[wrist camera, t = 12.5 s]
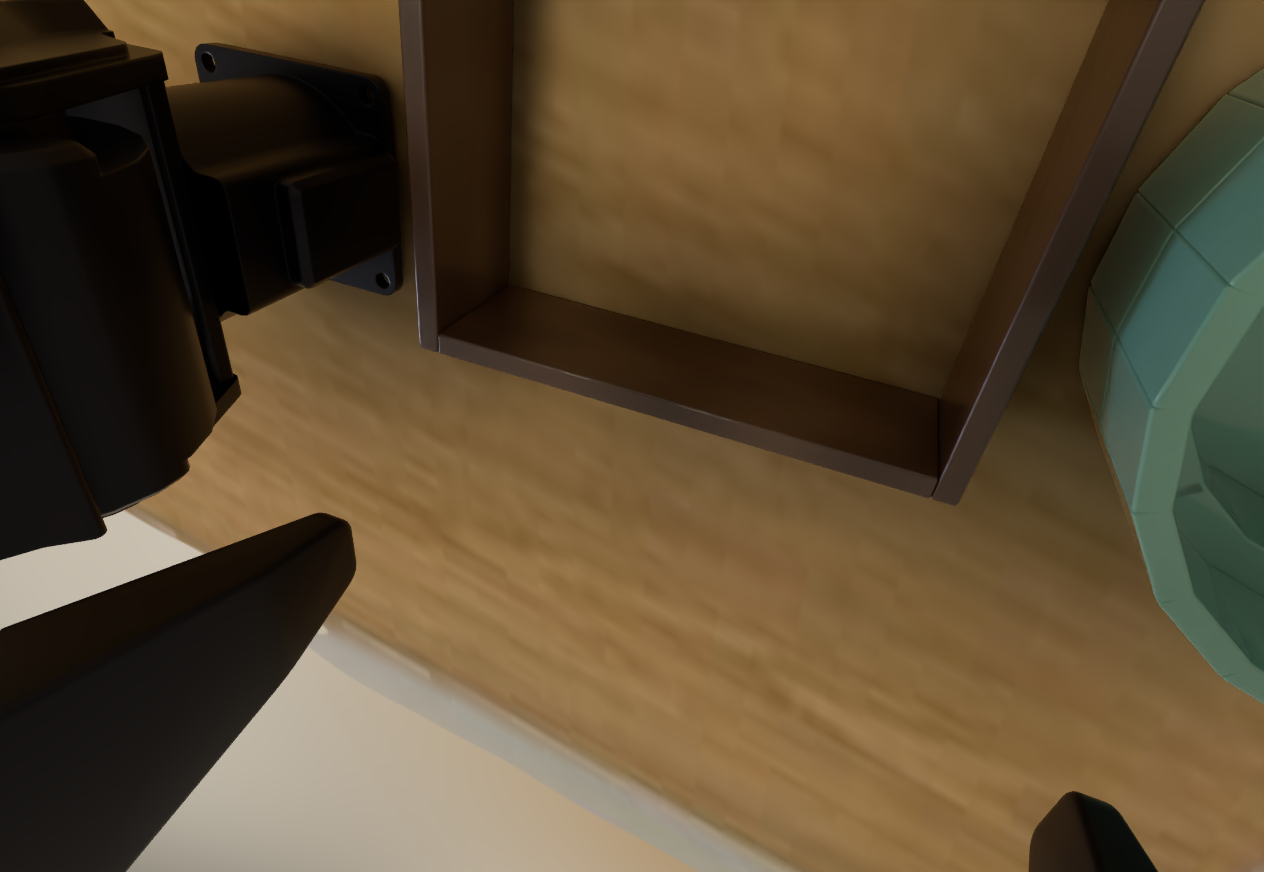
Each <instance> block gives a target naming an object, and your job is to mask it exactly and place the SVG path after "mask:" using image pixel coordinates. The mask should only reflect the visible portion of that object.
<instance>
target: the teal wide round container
mask: <svg viewBox="0 0 1264 872" xmlns="http://www.w3.org/2000/svg"><path fill="white" fill-rule="evenodd" d="M1138 192H1139V193H1137V194H1136V195H1135V196H1134V197H1133V199H1132V201H1131V203H1130V205H1129V207H1128V209H1127V211H1126V213H1125V215H1124V217H1123V219H1122V221H1121V223H1120V225H1119V227H1118V229H1117V231H1116V233H1115V235H1114V237H1113V239H1112V241H1111V243H1110V245H1109V246H1108V248H1107V250H1106V252H1105V254H1104V256H1103V258H1102V260H1101V262H1100V264H1099V266H1098V268H1097V270H1096V272H1095V274H1094V276H1093V278H1092V280H1091V286H1090V287H1089V289H1088V296H1087V304H1086V312H1085V320H1084V328H1083V336H1082V344H1081V352H1080V359H1079V368H1080V371H1079V373H1080V377H1081V380H1082V384H1083V387H1084V391H1085V394H1086V397H1087V401H1088V404H1089V408H1090V411H1091V415H1092V418H1093V421H1094V425H1095V428H1096V432H1097V435H1098V438H1099V441H1100V444H1101V447H1102V450H1103V453H1104V455H1105V458H1106V461H1107V464H1108V467H1109V470H1110V473H1111V475H1112V478H1113V481H1114V484H1115V487H1116V490H1117V492H1118V495H1119V498H1120V501H1121V504H1122V506H1123V509H1124V512H1125V515H1126V518H1127V521H1128V524H1129V526H1130V529H1131V532H1132V535H1133V538H1134V541H1135V543H1136V546H1137V549H1138V552H1139V555H1140V558H1141V561H1142V563H1143V566H1144V569H1145V572H1146V575H1147V578H1148V580H1149V583H1150V586H1151V589H1152V592H1153V595H1154V597H1155V599H1156V600H1157V603H1158V605H1159V606H1160V607H1161V608H1162V610H1163V611H1164V612H1165V613H1166V614H1167V615H1168V617H1169V618H1170V619H1171V620H1172V621H1173V623H1174V624H1175V625H1176V626H1177V627H1178V628H1179V630H1180V631H1181V632H1182V633H1183V634H1184V635H1185V637H1186V638H1187V639H1188V640H1189V641H1190V642H1191V644H1192V645H1193V646H1194V647H1195V648H1196V650H1197V651H1198V652H1199V653H1200V654H1201V655H1202V657H1203V658H1204V659H1205V660H1206V661H1207V662H1208V664H1209V665H1210V666H1211V667H1212V668H1213V670H1214V671H1215V672H1216V673H1217V674H1218V675H1219V676H1221V677H1222V678H1223V679H1224V680H1225V681H1227V682H1229V683H1230V684H1232V685H1233V686H1235V687H1237V688H1238V689H1240V690H1242V691H1243V692H1245V693H1247V694H1248V695H1250V696H1252V697H1253V698H1255V699H1257V700H1258V701H1260V702H1261V703H1263V704H1264V68H1263V69H1262V70H1260V71H1259V72H1257V73H1256V74H1254V75H1253V76H1251V77H1250V78H1248V79H1247V80H1245V81H1244V82H1243V83H1241V84H1240V85H1238V86H1237V87H1235V88H1234V89H1232V90H1231V91H1230V93H1229V94H1226V95H1224V96H1223V97H1222V98H1221V100H1220V101H1219V102H1218V103H1217V104H1216V105H1215V106H1214V107H1213V108H1212V109H1211V110H1210V111H1209V113H1208V114H1207V115H1206V116H1205V117H1204V118H1203V119H1202V120H1201V121H1200V122H1199V123H1198V124H1197V126H1196V127H1195V128H1194V129H1193V130H1192V131H1191V132H1190V133H1189V134H1188V135H1187V136H1186V137H1185V139H1184V140H1183V141H1182V142H1181V143H1180V144H1179V145H1178V146H1177V147H1176V148H1175V149H1174V151H1173V152H1172V153H1171V154H1170V155H1169V156H1168V157H1167V158H1166V159H1165V160H1164V161H1163V162H1162V164H1161V165H1160V166H1159V167H1158V168H1157V169H1156V170H1155V171H1154V172H1153V173H1152V174H1151V175H1150V177H1149V178H1148V179H1147V180H1146V181H1145V182H1144V183H1143V184H1142V185H1141V186H1140V187H1139V188H1138Z"/></svg>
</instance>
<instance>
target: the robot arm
mask: <svg viewBox="0 0 1264 872" xmlns="http://www.w3.org/2000/svg"><path fill="white" fill-rule="evenodd" d="M213 59H214V61H215V64H216V66H215V65H214V63H213ZM195 61H196V66H197V71H198V76H199V80H200V83H194V84H186V85H179V86H171V87H165V83H164V81H165V80H168V75H167V70H166V66H165V62H164V57H163V53H162V51H158V50H154V49H149V48H144V47H139V46H134V45H130V44H126V42H124V41H121V40H118V39H115V36H114V32H113V31H111V30H108V29H107V28H106V26H105V25H104V24H103V23H102V22H101V20H100V19H99V18H98V17H97V16H96V14H95V13H94V12H93V11H92V9H91V8H90V7H89V6H88V5H87V3H86V2H85V1H84V0H0V560H2V559H6V558H9V557H13V556H16V555H20V554H23V553H27V552H30V551H33V550H37V549H40V548H44V547H50V546H56V545H62V544H68V543H74V542H81V541H86V540H93V539H97V538H99V537H101V536H103V535H104V534H105V533H106V531H107V528H106V526H105V523H104V521H103V518H104V517H107V516H111V515H114V514H116V513H119V512H121V511H123V510H125V509H127V508H129V507H132V506H134V505H136V504H138V503H139V502H141V501H143V500H145V499H147V498H149V497H152V496H154V495H156V494H158V493H159V492H161V491H162V490H164V489H166V488H167V487H169V486H170V485H172V484H173V483H175V482H177V481H178V480H180V479H181V478H182V477H183V476H184V475H185V474H186V473H187V472H188V471H189V468H190V466H189V462H188V458H189V457H190V456H192V455H193V453H194V452H195V451H196V450H197V449H198V448H199V446H200V445H201V444H202V443H203V442H204V440H205V439H206V438H207V437H208V436H209V435H210V433H211V432H212V429H213V427H214V425H215V424H216V423H217V422H218V421H219V420H220V418H221V417H222V416H223V415H224V414H225V413H226V411H227V410H228V409H229V408H230V407H231V406H232V405H233V403H234V402H235V401H236V400H237V399H238V398H239V396H240V395H241V390H240V385H239V381H238V377H237V375H235V374H233V372H232V368H231V364H230V359H229V355H228V351H227V347H226V342H225V338H224V334H223V330H222V325H221V321H224V320H226V319H228V318H230V317H232V316H234V315H236V314H239V315H249V314H251V313H253V312H255V311H258V310H260V309H262V308H264V307H266V306H268V305H270V304H272V303H274V302H277V301H279V300H281V299H283V298H285V297H287V296H289V295H291V294H293V293H295V292H298V291H300V290H302V289H304V288H307V289H308V288H313V287H315V286H317V285H319V284H321V283H323V282H325V281H327V280H332V281H336V282H339V283H343V284H346V285H350V286H354V287H357V288H361V289H364V290H368V291H371V292H375V293H378V294H382V295H390V294H393V293H394V292H396V291H398V290H400V289H401V287H402V286H403V271H402V257H401V243H400V242H401V232H400V218H399V204H398V190H397V176H396V164H395V160H394V146H393V132H392V118H391V105H390V95H389V91H388V88H387V86H386V84H385V82H384V81H383V80H382V79H381V78H380V77H378V76H375V75H373V74H368V73H363V72H358V71H353V70H348V69H343V68H338V67H333V66H328V65H324V64H319V63H314V62H309V61H304V60H299V59H294V58H289V57H284V56H279V55H274V54H269V53H264V52H259V51H254V50H249V49H244V48H239V47H234V46H229V45H224V44H219V43H207V44H199V45H198V46H197V47H196V50H195ZM368 87H369V88H370V90H371V91H372V93H373V96H374V100H373V102H372V101H371V100H370V99H369V97H368V94H367V89H368ZM383 274H384V275H386V276H387V278H388V280H389V283H388V282H387V281H386V280H385V279H384V275H383ZM355 571H356V557H355V550H354V543H353V537H352V530H351V526H350V525H349V523H348V522H347V521H345V520H343V519H340V518H338V517H335V516H332V515H330V514H327V513H315V514H312V515H309V516H307V517H304V518H301V519H298V520H296V521H293V522H290V523H288V524H285V525H282V526H279V527H277V528H274V529H271V530H269V531H266V532H263V533H260V534H258V535H255V536H252V537H250V538H247V539H244V540H241V541H239V542H236V543H233V544H231V545H228V546H225V547H222V548H220V549H217V550H214V551H212V552H209V553H206V554H203V555H201V556H198V557H195V558H192V559H190V560H187V561H184V562H182V563H179V564H176V565H173V566H171V567H168V568H166V569H163V570H160V571H157V572H155V573H152V574H149V575H146V576H144V577H141V578H138V579H135V580H133V581H130V582H127V583H125V584H122V585H119V586H116V587H114V588H111V589H108V590H106V591H103V592H100V593H97V594H95V595H92V596H90V597H87V598H84V599H81V600H79V601H76V602H73V603H70V604H68V605H65V606H62V607H59V608H57V609H54V610H51V611H48V612H46V613H43V614H40V615H38V616H35V617H32V618H29V619H27V620H24V621H22V622H19V623H16V624H13V625H11V626H8V627H5V628H3V629H1V630H0V872H126V871H127V870H128V869H129V867H130V866H131V865H132V864H133V863H134V861H135V860H136V859H137V858H138V856H139V855H140V854H141V853H142V851H143V850H144V849H145V848H146V847H147V846H148V844H149V843H150V842H151V840H153V838H154V837H155V836H156V835H157V833H158V832H159V831H160V830H161V829H162V827H163V826H164V825H165V824H166V823H167V821H168V820H169V819H170V818H171V816H172V815H173V814H174V813H175V812H176V810H177V809H178V808H179V807H180V805H181V804H182V803H183V802H184V801H185V800H186V798H187V797H188V796H189V794H191V792H192V791H193V790H194V788H195V787H196V786H197V785H198V784H199V783H200V781H201V780H202V779H203V778H204V777H205V775H206V774H207V773H208V772H209V771H210V769H211V768H212V767H213V766H214V764H215V763H216V762H217V761H218V760H219V758H220V757H221V756H222V755H223V753H224V752H225V751H226V750H227V749H228V748H229V746H230V745H231V744H232V743H233V741H234V740H235V739H236V738H237V737H238V735H239V734H240V733H241V732H242V731H243V729H244V728H245V727H246V726H247V724H248V723H249V722H250V721H251V720H252V718H253V717H254V716H255V715H256V714H257V712H258V711H259V710H260V709H261V708H262V706H263V705H264V704H265V703H266V702H267V700H268V699H269V698H270V697H271V695H272V694H273V693H274V692H275V691H276V689H277V688H278V687H279V686H280V684H281V683H282V682H283V680H284V679H285V678H286V677H287V675H288V674H289V673H290V671H291V670H292V668H293V667H294V666H295V664H296V663H297V661H298V660H299V659H300V657H301V656H302V654H303V653H304V651H305V649H306V648H307V647H308V645H309V644H310V642H311V641H312V639H313V638H314V636H315V635H316V633H317V632H318V630H319V629H320V627H321V626H322V624H323V623H324V621H325V620H326V618H327V617H328V615H329V614H330V612H331V611H332V609H333V608H334V606H335V605H336V603H337V602H338V601H339V599H340V598H341V596H342V595H343V593H344V592H345V590H346V589H347V587H348V586H349V584H350V583H351V581H352V579H353V577H354V574H355ZM1029 872H1158V871H1157V869H1156V868H1155V866H1154V865H1153V863H1152V862H1151V860H1150V859H1149V857H1148V855H1147V854H1146V852H1145V851H1144V849H1143V848H1142V846H1141V845H1140V843H1139V842H1138V840H1137V839H1136V837H1135V835H1134V834H1133V832H1132V831H1131V829H1130V828H1129V826H1128V825H1127V823H1126V822H1125V820H1124V819H1123V817H1122V816H1121V814H1120V813H1119V812H1118V811H1117V810H1116V809H1115V808H1114V807H1113V806H1112V805H1110V804H1108V803H1106V802H1104V801H1101V800H1098V799H1096V798H1093V797H1090V796H1088V795H1085V794H1082V793H1079V792H1075V791H1072V792H1068V793H1066V794H1065V795H1064V796H1063V797H1062V798H1061V799H1060V800H1059V801H1058V802H1057V804H1056V805H1055V806H1054V807H1053V808H1052V809H1051V811H1050V812H1049V813H1048V814H1047V815H1046V816H1045V817H1044V819H1043V820H1042V821H1041V822H1040V823H1039V824H1038V826H1037V827H1036V829H1035V831H1034V833H1033V836H1032V839H1031V844H1030V854H1029Z"/></svg>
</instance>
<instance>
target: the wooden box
mask: <svg viewBox="0 0 1264 872" xmlns="http://www.w3.org/2000/svg"><path fill="white" fill-rule="evenodd" d="M1204 2H1205V0H1109V2H1108V4H1107V6H1106V9H1105V11H1104V13H1103V16H1102V18H1101V20H1100V23H1099V25H1098V28H1097V30H1096V32H1095V35H1094V37H1093V39H1092V42H1091V44H1090V46H1089V49H1088V51H1087V53H1086V56H1085V58H1084V60H1083V63H1082V65H1081V68H1080V70H1079V72H1078V75H1077V77H1076V79H1075V82H1074V84H1073V86H1072V89H1071V91H1070V93H1069V96H1068V98H1067V101H1066V103H1065V105H1064V108H1063V110H1062V112H1061V115H1060V117H1059V119H1058V122H1057V124H1056V126H1055V129H1054V131H1053V133H1052V136H1051V138H1050V141H1049V143H1048V145H1047V148H1046V150H1045V152H1044V155H1043V157H1042V159H1041V162H1040V164H1039V166H1038V169H1037V171H1036V174H1035V176H1034V178H1033V181H1032V183H1031V185H1030V188H1029V190H1028V192H1027V195H1026V197H1025V199H1024V202H1023V204H1022V206H1021V209H1020V211H1019V214H1018V216H1017V218H1016V221H1015V223H1014V225H1013V228H1012V230H1011V232H1010V235H1009V237H1008V239H1007V242H1006V244H1005V246H1004V249H1003V251H1002V254H1001V256H1000V258H999V261H998V263H997V265H996V268H995V270H994V272H993V275H992V277H991V279H990V282H989V284H988V287H987V289H986V291H985V294H984V296H983V298H982V301H981V303H980V305H979V308H978V310H977V312H976V315H975V317H974V319H973V322H972V324H971V327H970V329H969V331H968V334H967V336H966V338H965V341H964V343H963V345H962V348H961V350H960V352H959V355H958V357H957V360H956V362H955V364H954V367H953V369H952V371H951V374H950V376H949V378H948V381H947V383H946V385H945V388H944V390H943V392H942V395H941V397H940V400H939V401H938V399H937V398H933V397H929V396H925V395H922V394H918V393H914V392H910V391H907V390H903V389H899V388H895V387H892V386H888V385H884V384H880V383H876V382H873V381H869V380H865V379H861V378H858V377H854V376H850V375H846V374H843V373H839V372H835V371H831V370H828V369H824V368H820V367H816V366H813V365H809V364H805V363H801V362H797V361H794V360H790V359H786V358H782V357H779V356H775V355H771V354H767V353H764V352H760V351H756V350H752V349H749V348H745V347H741V346H737V345H733V344H730V343H726V342H722V341H718V340H715V339H711V338H707V337H703V336H700V335H696V334H692V333H688V332H685V331H681V330H677V329H673V328H670V327H666V326H662V325H658V324H654V323H651V322H647V321H643V320H639V319H636V318H632V317H628V316H624V315H621V314H617V313H613V312H609V311H606V310H602V309H598V308H594V307H590V306H587V305H583V304H579V303H575V302H572V301H568V300H564V299H560V298H557V297H553V296H549V295H545V294H542V293H538V292H534V291H530V290H527V289H523V288H519V287H515V286H511V285H509V286H508V270H509V210H510V151H511V91H512V31H513V0H399V16H400V32H401V49H402V65H403V81H404V97H405V114H406V130H407V146H408V162H409V179H410V195H411V211H412V227H413V244H414V260H415V276H416V292H417V308H418V325H419V341H420V347H421V348H424V349H428V350H431V351H434V352H440V353H441V354H444V355H448V356H451V357H455V358H458V359H461V360H465V361H468V362H471V363H475V364H478V365H482V366H485V367H488V368H492V369H495V370H498V371H502V372H505V373H508V374H512V375H515V376H519V377H522V378H525V379H529V380H532V381H535V382H539V383H542V384H545V385H549V386H552V387H556V388H559V389H562V390H566V391H569V392H572V393H576V394H579V395H583V396H586V397H589V398H593V399H596V400H599V401H603V402H606V403H609V404H613V405H616V406H620V407H623V408H626V409H630V410H633V411H636V412H640V413H643V414H647V415H650V416H653V417H657V418H660V419H663V420H667V421H670V422H673V423H677V424H680V425H684V426H687V427H690V428H694V429H697V430H700V431H704V432H707V433H711V434H714V435H717V436H721V437H724V438H727V439H731V440H734V441H737V442H741V443H744V444H748V445H751V446H754V447H758V448H761V449H764V450H768V451H771V452H775V453H778V454H781V455H785V456H788V457H791V458H795V459H798V460H801V461H805V462H808V463H812V464H815V465H818V466H822V467H825V468H828V469H832V470H835V471H838V472H842V473H845V474H849V475H852V476H855V477H859V478H862V479H865V480H869V481H872V482H876V483H879V484H882V485H886V486H889V487H892V488H896V489H899V490H902V491H906V492H909V493H913V494H916V495H919V496H923V497H926V498H930V497H932V499H933V500H936V501H940V502H943V503H946V504H950V505H953V506H957V505H958V503H959V501H960V499H961V497H962V495H963V493H964V491H965V489H966V487H967V485H968V483H969V481H970V479H971V477H972V475H973V473H974V471H975V469H976V467H977V465H978V463H979V461H980V459H981V457H982V455H983V453H984V450H985V448H986V446H987V444H988V442H989V440H990V438H991V436H992V434H993V432H994V430H995V428H996V426H997V424H998V422H999V420H1000V418H1001V416H1002V414H1003V412H1004V410H1005V408H1006V406H1007V404H1008V402H1009V400H1010V398H1011V395H1012V393H1013V391H1014V389H1015V387H1016V385H1017V383H1018V381H1019V379H1020V377H1021V375H1022V373H1023V371H1024V369H1025V367H1026V365H1027V363H1028V361H1029V359H1030V357H1031V355H1032V353H1033V351H1034V349H1035V347H1036V345H1037V342H1038V340H1039V338H1040V336H1041V334H1042V332H1043V330H1044V328H1045V326H1046V324H1047V322H1048V320H1049V318H1050V316H1051V314H1052V312H1053V310H1054V308H1055V306H1056V304H1057V302H1058V300H1059V298H1060V296H1061V294H1062V292H1063V289H1064V287H1065V285H1066V283H1067V281H1068V279H1069V277H1070V275H1071V273H1072V271H1073V269H1074V267H1075V265H1076V263H1077V261H1078V259H1079V257H1080V255H1081V253H1082V251H1083V249H1084V247H1085V245H1086V243H1087V241H1088V239H1089V236H1090V234H1091V232H1092V230H1093V228H1094V226H1095V224H1096V222H1097V220H1098V218H1099V216H1100V214H1101V212H1102V210H1103V208H1104V206H1105V204H1106V202H1107V200H1108V198H1109V196H1110V194H1111V192H1112V190H1113V188H1114V186H1115V184H1116V181H1117V179H1118V177H1119V175H1120V173H1121V171H1122V169H1123V167H1124V165H1125V163H1126V161H1127V159H1128V157H1129V155H1130V153H1131V151H1132V149H1133V147H1134V145H1135V143H1136V141H1137V139H1138V137H1139V135H1140V133H1141V131H1142V128H1143V126H1144V124H1145V122H1146V120H1147V118H1148V116H1149V114H1150V112H1151V110H1152V108H1153V106H1154V104H1155V102H1156V100H1157V98H1158V96H1159V94H1160V92H1161V90H1162V88H1163V86H1164V84H1165V82H1166V80H1167V78H1168V75H1169V73H1170V71H1171V69H1172V67H1173V65H1174V63H1175V61H1176V59H1177V57H1178V55H1179V53H1180V51H1181V49H1182V47H1183V45H1184V43H1185V41H1186V39H1187V37H1188V35H1189V33H1190V31H1191V29H1192V27H1193V25H1194V22H1195V20H1196V18H1197V16H1198V14H1199V12H1200V10H1201V8H1202V6H1203V4H1204Z"/></svg>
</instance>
